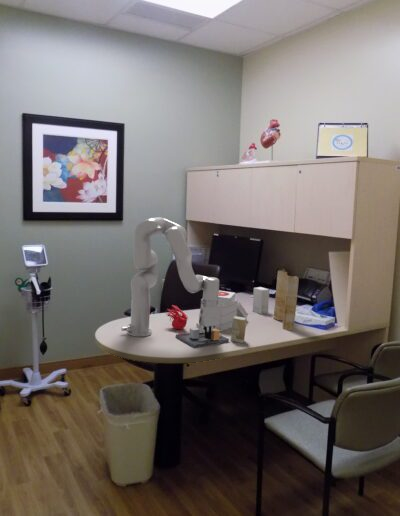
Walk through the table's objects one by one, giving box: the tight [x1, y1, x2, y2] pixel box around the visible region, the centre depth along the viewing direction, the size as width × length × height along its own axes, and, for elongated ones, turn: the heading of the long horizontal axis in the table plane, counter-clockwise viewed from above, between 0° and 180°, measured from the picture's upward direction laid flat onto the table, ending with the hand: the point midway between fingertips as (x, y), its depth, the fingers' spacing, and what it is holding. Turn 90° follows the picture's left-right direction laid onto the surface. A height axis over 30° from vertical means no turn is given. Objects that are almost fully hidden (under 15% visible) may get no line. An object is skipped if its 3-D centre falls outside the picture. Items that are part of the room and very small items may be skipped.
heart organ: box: [165, 304, 189, 331], centre depth 255 cm, size 10×12×12 cm
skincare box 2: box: [252, 286, 270, 315], centre depth 298 cm, size 8×7×16 cm
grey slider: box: [188, 326, 200, 339], centre depth 237 cm, size 4×4×4 cm
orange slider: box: [211, 329, 221, 340], centre depth 237 cm, size 4×4×4 cm
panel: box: [175, 332, 230, 349], centre depth 240 cm, size 21×17×2 cm
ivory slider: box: [195, 322, 205, 333], centre depth 247 cm, size 4×4×4 cm
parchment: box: [273, 269, 299, 331], centre depth 275 cm, size 23×6×30 cm, turn 8°
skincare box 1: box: [230, 316, 248, 344], centre depth 241 cm, size 6×4×12 cm
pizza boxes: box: [200, 290, 249, 332], centre depth 270 cm, size 19×30×18 cm, turn 145°
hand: (207, 338), depth 235 cm, fingers closed
